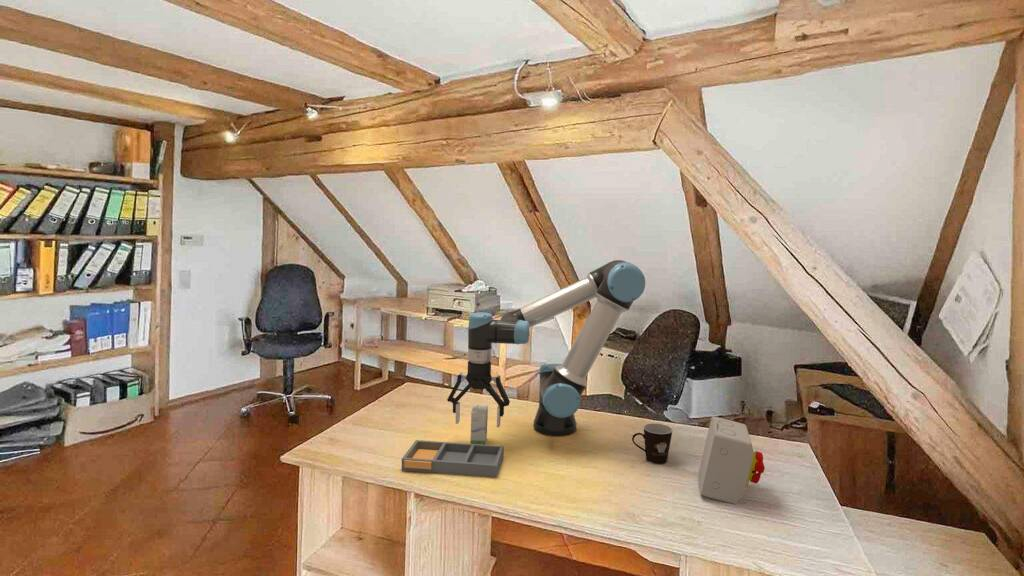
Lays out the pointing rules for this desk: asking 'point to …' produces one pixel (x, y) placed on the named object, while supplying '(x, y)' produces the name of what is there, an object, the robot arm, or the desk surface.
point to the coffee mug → (656, 442)
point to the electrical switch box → (728, 461)
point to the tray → (453, 458)
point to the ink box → (479, 424)
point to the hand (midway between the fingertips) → (477, 424)
